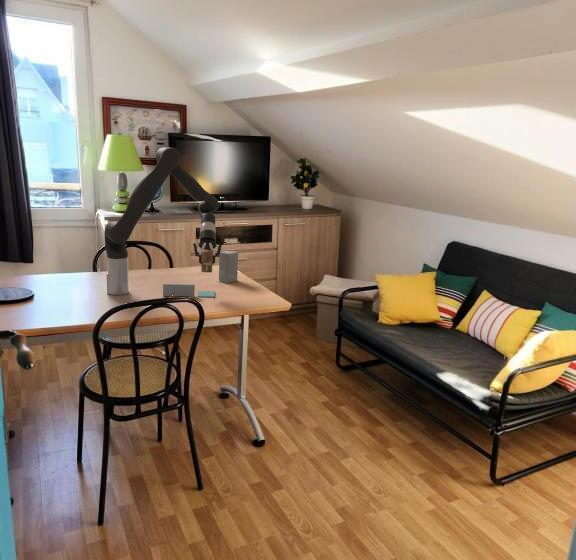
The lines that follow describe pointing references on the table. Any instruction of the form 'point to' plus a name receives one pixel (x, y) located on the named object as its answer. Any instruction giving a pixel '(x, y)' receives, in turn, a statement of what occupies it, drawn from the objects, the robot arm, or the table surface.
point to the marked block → (206, 260)
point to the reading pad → (206, 294)
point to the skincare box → (228, 266)
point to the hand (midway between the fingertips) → (207, 263)
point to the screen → (179, 290)
